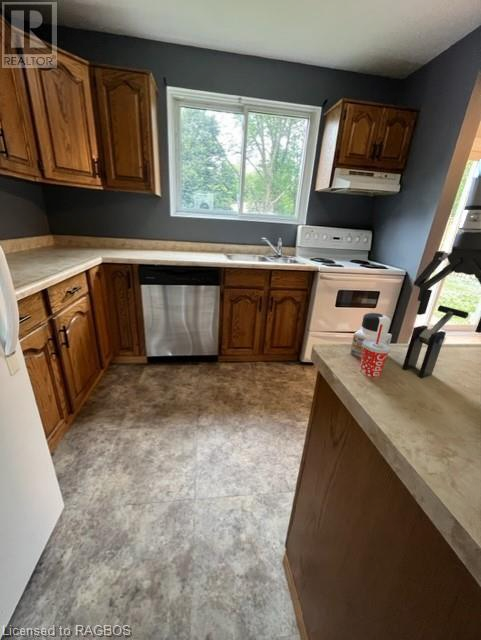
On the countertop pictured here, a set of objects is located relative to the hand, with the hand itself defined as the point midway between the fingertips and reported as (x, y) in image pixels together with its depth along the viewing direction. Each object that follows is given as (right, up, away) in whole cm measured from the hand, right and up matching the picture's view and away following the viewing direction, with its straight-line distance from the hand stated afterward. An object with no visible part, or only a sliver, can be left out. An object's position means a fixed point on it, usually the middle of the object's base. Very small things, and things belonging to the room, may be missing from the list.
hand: (448, 322), depth 67 cm
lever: (-3, -1, -1) cm, 3 cm away
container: (-16, -11, +9) cm, 21 cm away
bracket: (-8, -14, +1) cm, 16 cm away
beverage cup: (-20, -14, 0) cm, 24 cm away
